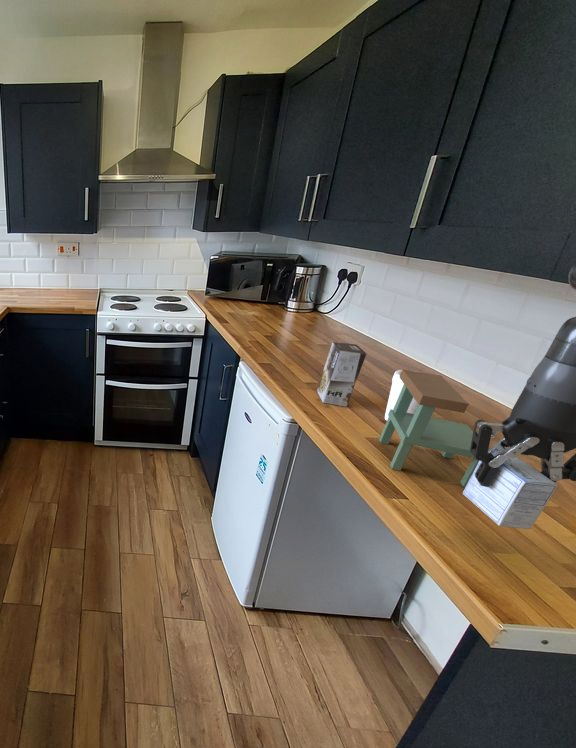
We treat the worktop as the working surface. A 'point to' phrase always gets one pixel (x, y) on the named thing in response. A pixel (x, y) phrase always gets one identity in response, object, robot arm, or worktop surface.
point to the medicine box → (512, 494)
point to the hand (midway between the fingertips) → (507, 489)
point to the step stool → (428, 420)
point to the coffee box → (340, 373)
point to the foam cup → (394, 395)
